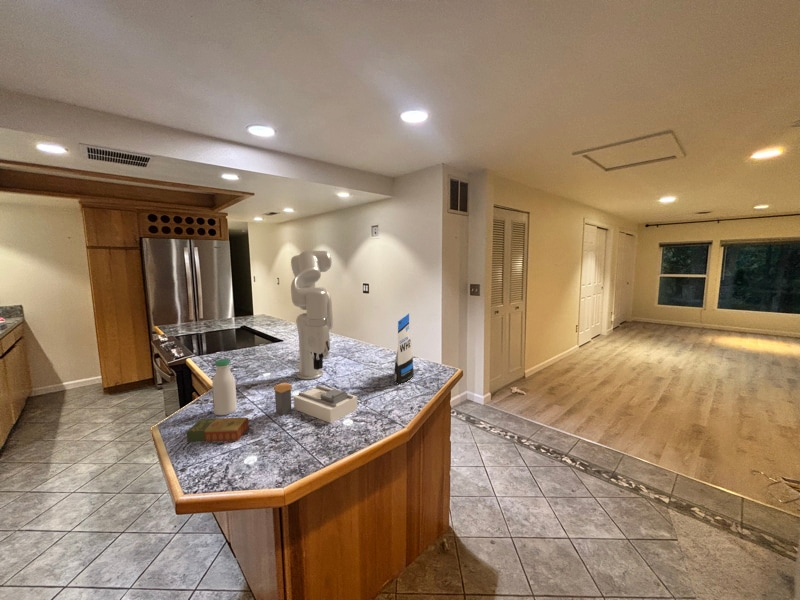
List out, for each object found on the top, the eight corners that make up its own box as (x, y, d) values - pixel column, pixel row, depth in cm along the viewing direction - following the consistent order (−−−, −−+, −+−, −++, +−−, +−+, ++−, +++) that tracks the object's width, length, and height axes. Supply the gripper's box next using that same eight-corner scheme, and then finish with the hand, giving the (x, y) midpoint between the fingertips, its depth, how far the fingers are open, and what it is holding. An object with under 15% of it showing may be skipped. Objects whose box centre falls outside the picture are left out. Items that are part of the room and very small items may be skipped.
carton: (238, 441, 104) (237, 429, 104) (186, 443, 104) (185, 430, 103) (249, 428, 113) (248, 416, 112) (201, 429, 112) (200, 417, 111)
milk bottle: (241, 408, 127) (238, 358, 125) (225, 417, 120) (221, 364, 118) (226, 405, 130) (223, 356, 127) (209, 414, 122) (205, 362, 120)
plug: (274, 413, 123) (273, 386, 122) (285, 408, 127) (284, 382, 126) (282, 416, 121) (281, 388, 120) (292, 411, 125) (291, 385, 123)
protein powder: (388, 384, 152) (387, 321, 149) (400, 368, 175) (400, 313, 172) (408, 386, 150) (408, 322, 146) (417, 369, 173) (418, 313, 170)
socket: (294, 409, 127) (293, 394, 126) (321, 396, 138) (321, 383, 138) (330, 423, 116) (330, 407, 115) (357, 408, 127) (357, 394, 126)
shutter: (320, 400, 123) (320, 392, 122) (334, 393, 128) (334, 386, 128) (334, 404, 119) (333, 396, 118) (347, 398, 125) (347, 390, 124)
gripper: (296, 321, 126) (297, 367, 129) (323, 326, 118) (324, 375, 120) (311, 318, 132) (312, 362, 135) (338, 323, 124) (339, 369, 127)
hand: (318, 368), depth 128 cm, fingers closed
